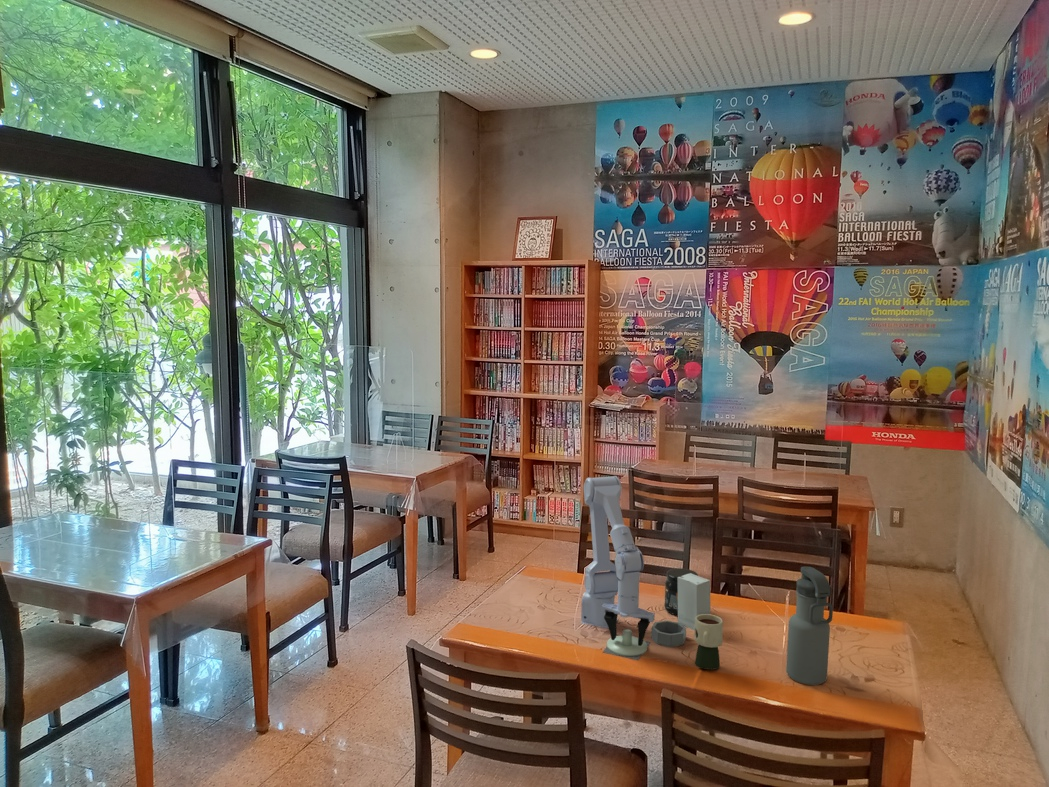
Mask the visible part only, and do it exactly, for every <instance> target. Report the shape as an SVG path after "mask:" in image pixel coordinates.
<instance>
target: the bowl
mask: <svg viewBox="0 0 1049 787" xmlns="http://www.w3.org/2000/svg"><path fill="white" fill-rule="evenodd" d="M650 629H651V634H650V636H651V638H652V641H653V642H654V643H656V644H658V645H660V646H662V647H663V646H664V647H668V648H669V647H670V648H671V647H673V648H674V647H676V648H677V647H680V646H682V645H684V644H685V641H686V639H687V627H684V626H683V625H681V624H680V623H678V621H677V622H676V621H673V620H671V621H670V620H660V621H654V623H653V624H652V626H651V628H650Z"/></svg>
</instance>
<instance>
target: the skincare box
mask: <svg viewBox="0 0 1049 787" xmlns="http://www.w3.org/2000/svg"><path fill="white" fill-rule="evenodd" d="M677 579H678V615H677V623H680V624H681V625H683V626H684V627H685V628H688V629H690V630H692V631H695V617H696V616H697V615H701V614H711V580H710V579H709V578H708V579H707V578H705V577H702V576H699V575H698V576H697V575H694V574H691V573H690V574H686V575H683V576H680V577H678V578H677Z"/></svg>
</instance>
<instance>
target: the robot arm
mask: <svg viewBox="0 0 1049 787" xmlns="http://www.w3.org/2000/svg"><path fill="white" fill-rule="evenodd" d="M582 489H583V498H584V499H583V500H584V504H585V505H586V506H588V507H589V516H590V527H591V528H590V529H591V543H592V558H593V560H592V562H591V563H590V564H588V566H587V567H585V570H584V582H583V584H584V588H585V591H584V593H583V594H582V598H581V612H580V613H581V615H580V616H581V618H580V619H581V620H580V624H585V625H589V626H593V627H600V628H603V629H608V630H609V633H610V638H611V639H612V640H614V639H615V638H616V635H618V634H617V624H618V623H617V622H618V620H619V618H618V616H619V617H622V618H629V617H630V618H633V619H638V620H639V621H638V622H637V630H638V637H637V638H638V646H641V645H642V644H643V640H644V638H645V635H646V632H647V630H648V628H649V625H650V623H653V622H655V617H656V616H655V615H656V614H655V612H652V611H648V610H645V609H643V608H640V606H639V604H640V603H639V601H640V600H639V599H640V597H639V596H640V572H642V571H643V570H644V566H645V562H644V561H645V560H644V556H643V553H642V551H641V550H640V549H639V547H638V546H636V545H635V542H634V538H633V535H632V531H631V529H630V527H629V526H628V525H625V522H624V519H623V518H624V517H623V514H622V509H621V508H622V507H621V505H620V498H621V496H622V495H621V494H622V483H621V480H620V478H619V477H618V476H617V475H613V476H600V477H599V476H598V477H587V478H586V479H585V481H584V483H583V488H582ZM608 522H609V524H610V526H611V530H610V532H609V529H608V526H609V525H608ZM609 535H610V538H609ZM609 539H610V540H611V543H612V545H613V549H614V552H615V559H614V562H612V561H611V554H610V553H611V552H610V543H609V542H610V541H609ZM615 596H617V604H615Z"/></svg>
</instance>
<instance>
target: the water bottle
mask: <svg viewBox="0 0 1049 787" xmlns="http://www.w3.org/2000/svg"><path fill="white" fill-rule="evenodd" d="M800 574H801V578H799V579H797V580H796V588H795V589H796V590H795V594H796V603H795V604H796V606H795V607H796V608H795V613H794V614H792V615H791V616H790V617H789V619H788V629H787V630H788V631H787V647H786V651H787V652H786V665H785V671H786V674H787V676H788V677H789V678H790V679H791V680H793V681H795V682H797V683H800V684H803V685H806V686H807V685H808V686H819V685H821V684H823V683H825V682H826V681H827V678H828V666H829V652H830V651H829V650H830V648H829V647H830V636H831V635H830V634H831V626H830V623H831V622H832V621H833V614H834V613H833V612H834V606H833V604H832V603H830V602H828V601H827V600H828V598H829V597H830V596H831V587H830V582H829V581H828V579H827V576H826V575H825V574H824V573H823V572H821V571H820V570H818V569H816V568H815V567H812V566H801V567H800ZM825 607H828V618H827V619H825V617H824V615H825V612H824V611H825Z"/></svg>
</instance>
